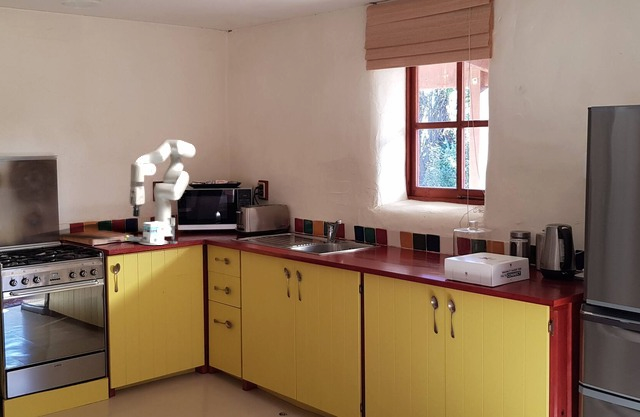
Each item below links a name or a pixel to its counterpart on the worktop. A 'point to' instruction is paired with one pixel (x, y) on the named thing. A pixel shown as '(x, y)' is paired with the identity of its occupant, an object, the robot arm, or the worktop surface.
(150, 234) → the light bulb box
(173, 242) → the gauge stand
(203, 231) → the worktop surface
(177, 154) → the robot arm
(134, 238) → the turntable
